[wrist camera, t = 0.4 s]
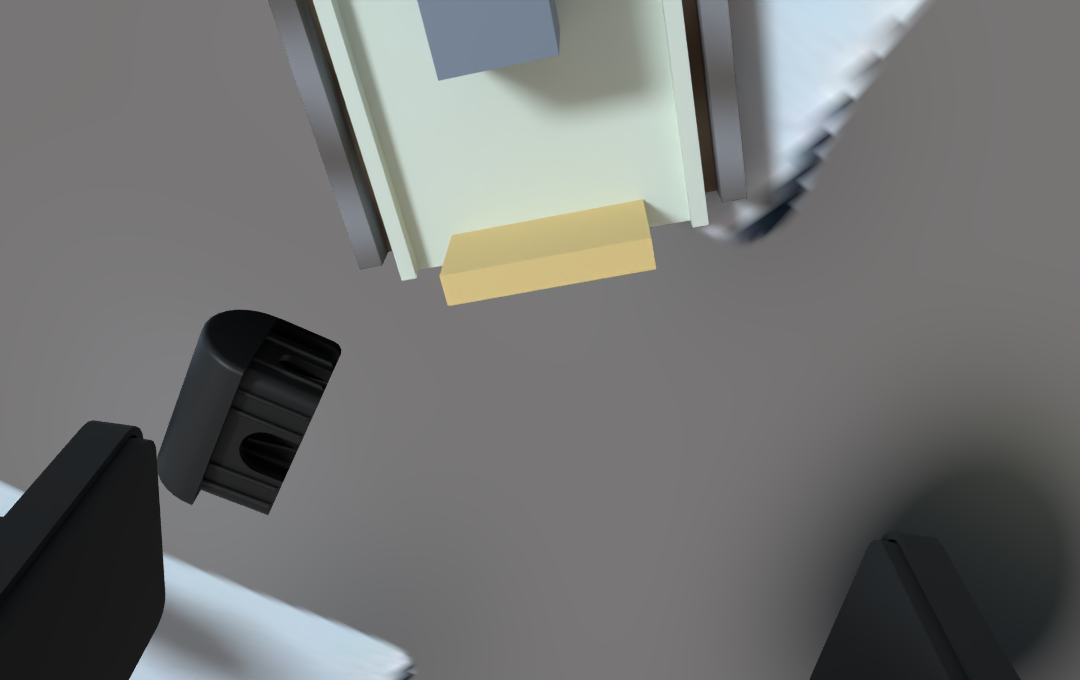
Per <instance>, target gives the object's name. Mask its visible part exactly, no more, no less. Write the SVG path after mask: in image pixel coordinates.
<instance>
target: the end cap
mask: <svg viewBox="0 0 1080 680" xmlns="http://www.w3.org/2000/svg"><path fill="white" fill-rule="evenodd" d="M340 355H341V348H340V346H339V345H338V344H337V343H336V342H334V341H332V340H329V339H327V338H325V337H322V336H320V335H318V334H315V333H313V332H310V331H308V330H306V329H304V328H301V327H299V326H297V325H294V324H292V323H290V322H287V321H285V320H283V319H279V318H277V317H274V316H271V315H269V314H266V313H262V312H257V311H251V310H230V311H225V312H222V313H219V314H217V315H215V316H213V317H211V318H210V319H209V320H208V321H207V322H206V323H205V325H204V327H203V329H202V331H201V334H200V337H199V340H198V343H197V346H196V348H195V352H194V354H193V357H192V360H191V363H190V366H189V368H188V371H187V374H186V377H185V380H184V383H183V385H182V388H181V391H180V394H179V397H178V400H177V403H176V405H175V408H174V411H173V414H172V417H171V420H170V422H169V425H168V428H167V431H166V434H165V437H164V440H163V442H162V446H161V448H160V451H159V454H158V457H157V472H158V475H159V477H160V480H161V482H162V483H163V484H164V486H165V487H166V488H167V489H168V490H169V491H170V492H171V493H172V494H173V495H175V496H176V497H177V498H179V499H181V500H182V501H184V502H187V503H189V504H191V505H192V504H193V503H194V501H195V499H196V497H197V496H198V494H199V492H200V490H203V491H206V492H208V493H211V494H214V495H216V496H219V497H222V498H224V499H227V500H229V501H232V502H235V503H238V504H240V505H243V506H245V507H248V508H251V509H254V510H256V511H259V512H261V513H264V514H266V515H268V514H269V512H270V510H271V508H272V505H273V503H274V501H275V498H276V496H277V494H278V492H279V490H280V488H281V485H282V483H283V481H284V479H285V476H286V474H287V472H288V470H289V468H290V465H291V463H292V461H293V459H294V456H295V454H296V452H297V450H298V448H299V445H300V443H301V441H302V439H303V437H304V435H305V432H306V430H307V428H308V425H309V423H310V421H311V419H312V417H313V415H314V412H315V410H316V408H317V406H318V404H319V401H320V399H321V397H322V395H323V392H324V390H325V388H326V386H327V383H328V381H329V379H330V377H331V374H332V372H333V370H334V368H335V366H336V363H337V361H338V359H339V357H340Z"/></svg>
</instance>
